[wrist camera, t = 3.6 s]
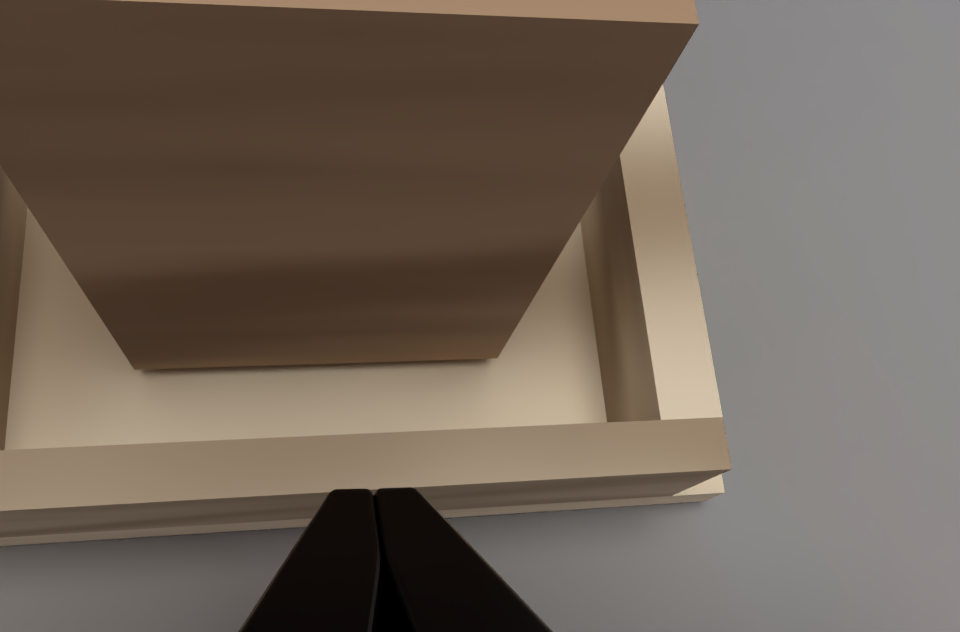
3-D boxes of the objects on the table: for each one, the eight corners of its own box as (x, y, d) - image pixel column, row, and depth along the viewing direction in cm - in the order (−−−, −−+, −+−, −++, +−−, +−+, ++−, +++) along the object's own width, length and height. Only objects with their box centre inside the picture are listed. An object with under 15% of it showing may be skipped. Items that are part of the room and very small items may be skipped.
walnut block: (497, 358, 16) (699, 24, 7) (134, 369, 15) (-114, -9, 6) (473, 110, 17) (615, -390, 9) (147, 104, 16) (-35, -472, 8)
